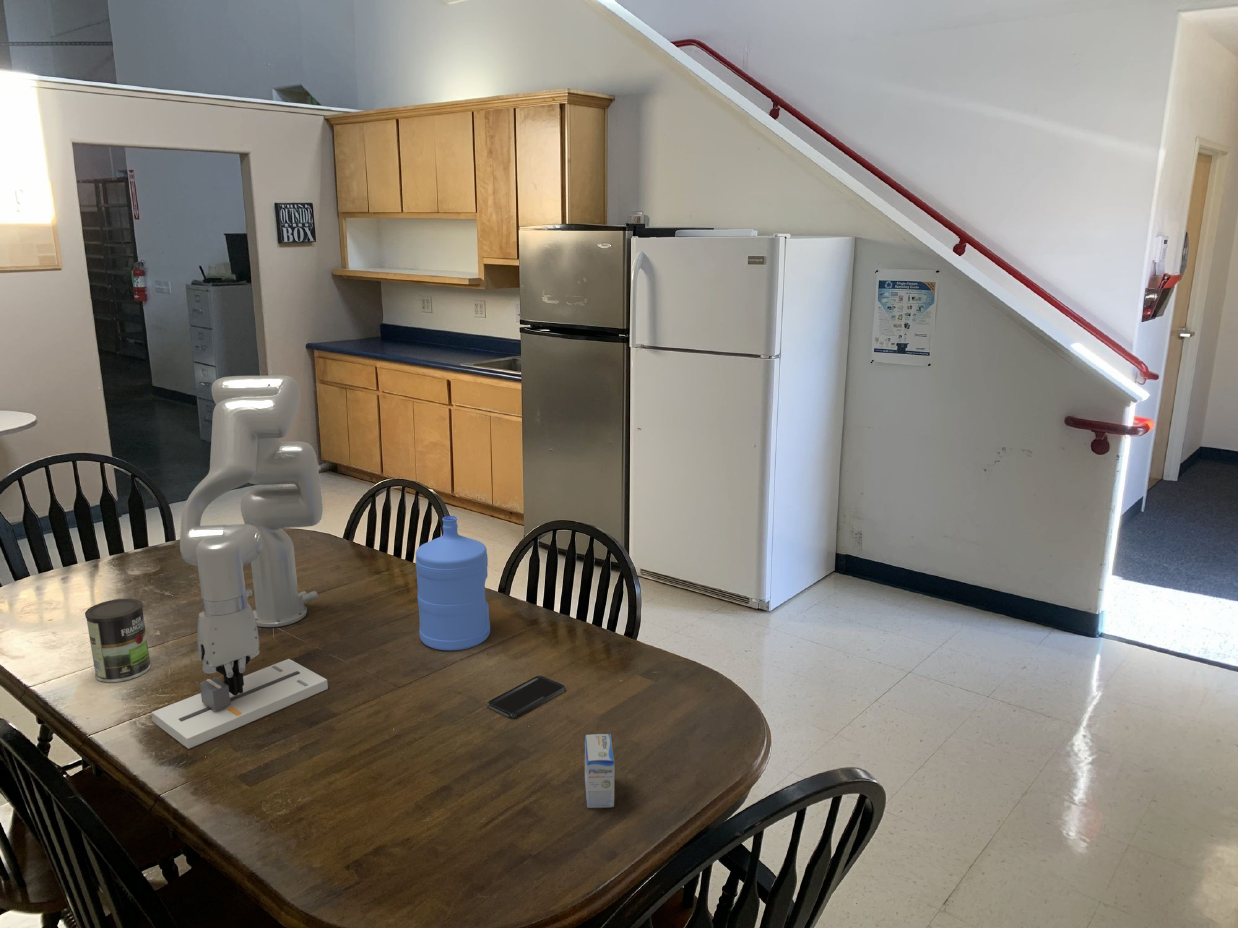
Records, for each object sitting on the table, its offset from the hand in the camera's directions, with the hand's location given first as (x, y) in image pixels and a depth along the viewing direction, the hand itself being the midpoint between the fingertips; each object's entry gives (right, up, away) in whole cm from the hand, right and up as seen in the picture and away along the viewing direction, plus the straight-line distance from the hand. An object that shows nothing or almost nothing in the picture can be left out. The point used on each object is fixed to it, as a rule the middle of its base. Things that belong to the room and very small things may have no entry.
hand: (235, 691), depth 172 cm
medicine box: (+70, -10, -25) cm, 75 cm away
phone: (+55, -3, +5) cm, 55 cm away
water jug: (+36, +4, +31) cm, 48 cm away
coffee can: (-29, 0, +15) cm, 33 cm away
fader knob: (-2, -2, -3) cm, 4 cm away
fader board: (+1, -3, +2) cm, 4 cm away
